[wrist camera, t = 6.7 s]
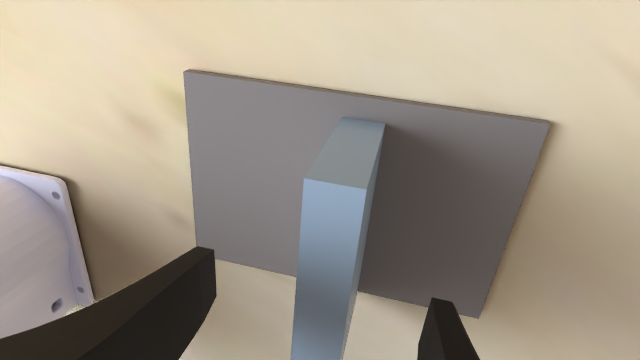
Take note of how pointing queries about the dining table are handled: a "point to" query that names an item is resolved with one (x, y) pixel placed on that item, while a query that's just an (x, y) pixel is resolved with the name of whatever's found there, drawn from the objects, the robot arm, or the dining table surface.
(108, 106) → the dining table surface
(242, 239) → the mat
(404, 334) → the dining table surface
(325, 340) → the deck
